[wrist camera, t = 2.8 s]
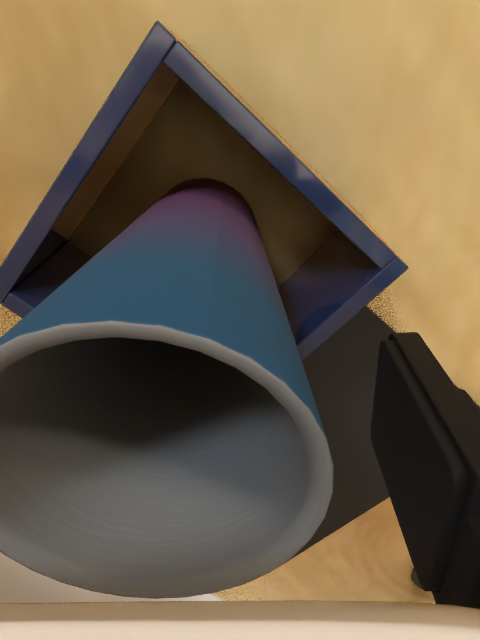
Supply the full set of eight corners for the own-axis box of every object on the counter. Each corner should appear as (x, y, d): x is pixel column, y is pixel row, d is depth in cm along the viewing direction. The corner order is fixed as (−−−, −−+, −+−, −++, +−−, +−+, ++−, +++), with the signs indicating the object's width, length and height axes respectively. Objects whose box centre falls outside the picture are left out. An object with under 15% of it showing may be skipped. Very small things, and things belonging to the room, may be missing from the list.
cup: (241, 312, 23) (240, 625, 9) (118, 265, 21) (-81, 553, 8) (299, 193, 19) (416, 414, 6) (159, 131, 18) (-55, 245, 5)
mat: (119, 478, 29) (118, 482, 29) (333, 277, 22) (335, 280, 21) (277, 563, 34) (277, 567, 33) (496, 422, 26) (500, 426, 26)
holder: (48, 241, 21) (-18, 294, 15) (183, 40, 17) (156, 18, 11) (219, 362, 24) (213, 439, 19) (366, 220, 20) (409, 268, 15)
